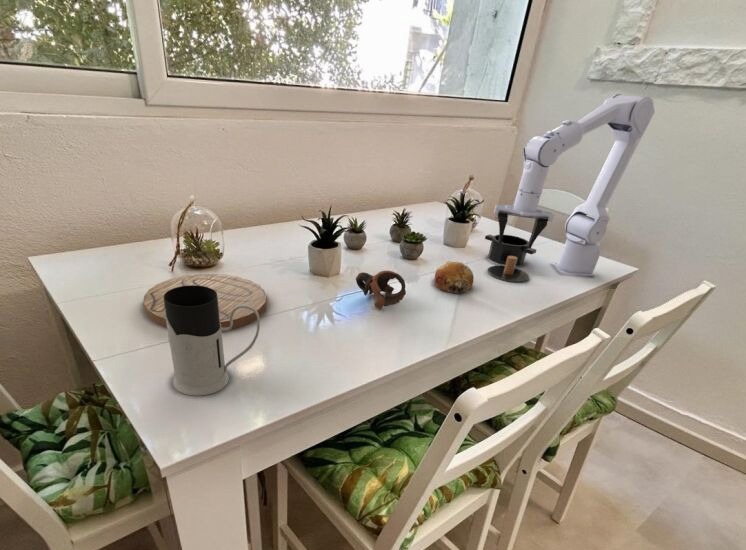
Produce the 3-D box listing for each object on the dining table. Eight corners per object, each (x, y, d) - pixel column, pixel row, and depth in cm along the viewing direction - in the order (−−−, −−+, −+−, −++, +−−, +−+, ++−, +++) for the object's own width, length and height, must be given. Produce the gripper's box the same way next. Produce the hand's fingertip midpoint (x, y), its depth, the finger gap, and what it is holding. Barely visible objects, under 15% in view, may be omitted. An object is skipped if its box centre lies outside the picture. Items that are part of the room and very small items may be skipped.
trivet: (225, 343, 86) (224, 334, 85) (116, 314, 92) (114, 305, 91) (286, 295, 106) (286, 287, 104) (193, 273, 112) (192, 266, 110)
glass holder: (179, 365, 79) (166, 282, 70) (263, 366, 81) (260, 286, 72) (167, 395, 72) (151, 307, 63) (260, 396, 74) (256, 311, 65)
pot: (492, 250, 146) (497, 230, 142) (537, 266, 137) (544, 245, 133) (473, 256, 140) (478, 235, 136) (519, 273, 131) (526, 251, 127)
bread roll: (470, 299, 121) (479, 269, 120) (466, 296, 112) (476, 263, 110) (434, 290, 124) (443, 261, 123) (427, 286, 115) (436, 254, 113)
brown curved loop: (403, 296, 112) (413, 275, 104) (391, 326, 107) (402, 306, 100) (357, 277, 111) (365, 254, 104) (344, 306, 107) (351, 284, 100)
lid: (500, 266, 134) (505, 247, 131) (535, 279, 128) (541, 260, 125) (478, 274, 128) (483, 254, 124) (514, 287, 121) (520, 267, 118)
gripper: (500, 190, 113) (487, 245, 121) (561, 198, 111) (544, 253, 119) (500, 184, 119) (487, 237, 127) (558, 192, 117) (541, 245, 124)
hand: (514, 244), depth 123 cm, fingers open, 7 cm apart
